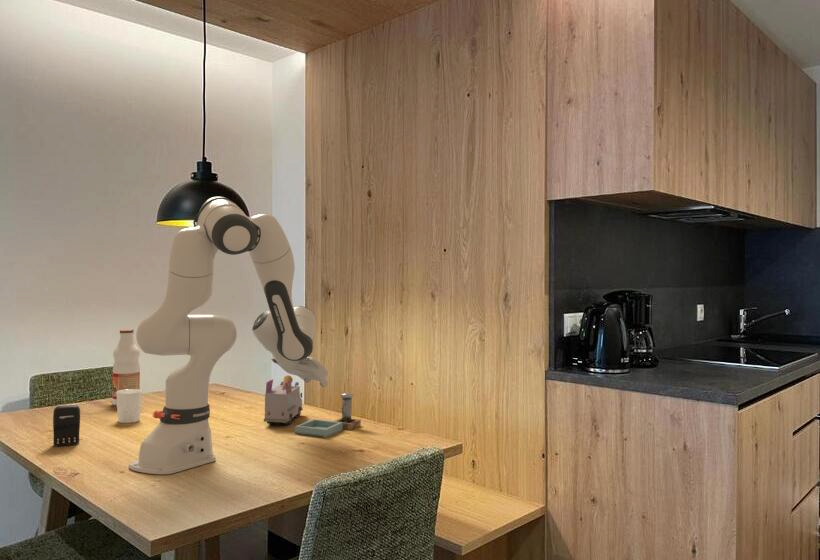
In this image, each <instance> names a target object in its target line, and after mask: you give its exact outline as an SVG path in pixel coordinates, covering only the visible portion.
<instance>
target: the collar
mask: <svg viewBox="0 0 820 560" xmlns="http://www.w3.org/2000/svg"><path fill="white" fill-rule="evenodd" d="M334 421H335V422H342V417H340V418H338V419H336V420H335V419H334ZM361 421H362V420H361V419H358V418H351V423H346V422H343V430H345V429H346V430H347V431H352V429H353V430H355V429H356V427H357V428H359V427H361V426H362V423H361ZM360 425H361V426H360ZM358 426H359V427H358ZM354 428H355V429H354Z"/></svg>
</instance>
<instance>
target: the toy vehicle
mask: <svg viewBox="0 0 820 560" xmlns="http://www.w3.org/2000/svg"><path fill="white" fill-rule="evenodd" d="M273 383H274V379H270V380H268V381H266V385H265V393H264V418H263V422H265V423H266V424H269V425H273V424H274V423H283V424H284V425H285V426H286V425H287V426H290V425H291V424H292V422H293V418H294V417H295V418H300V417H301V414H302V413H301V412H302V411H303V399H302V398H303V393H302V392H300V387H301V386H299V382H298V381H297V382H295V383H294V385H292V383H293V377H292V376H291V375H290V374H289V375H285V376H284V377H283V381H280V384H279V385H278V386H276V387H274V388H273Z"/></svg>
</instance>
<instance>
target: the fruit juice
mask: <svg viewBox="0 0 820 560" xmlns="http://www.w3.org/2000/svg"><path fill="white" fill-rule="evenodd" d="M134 333H135V330H134V329H130V328H129V329H127V328H125V329H120V330H119V335H120V338H119V340H118V343H117V345H116V346H115V348H114V350H113V354H112V355H113V358H114V359H113V360H114V362H113V364H112V384H111V385H112V393H111V395H112V397H111V399H112V400H111V402H112V405H113V406H116V407H117V391H120V390H126V389H139V390H141V389H140V386H141V385H140V384H141V383H140V381H141V377H140V376H141V372H140V371H141V366H140V363H139V358H140V356H141V355H140V352H141V351H140V348H139V347H138V346H137V345H136V342H135V339H134Z"/></svg>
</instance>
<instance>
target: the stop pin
mask: <svg viewBox="0 0 820 560" xmlns="http://www.w3.org/2000/svg"><path fill="white" fill-rule="evenodd" d="M340 398H341V418H342V422H346V423H351V419H352V409H353V408H352V407H353V406H352V405H353V403H352V402H353V401H352V399H353V398H354V393H353V392H341V393H340Z"/></svg>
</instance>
